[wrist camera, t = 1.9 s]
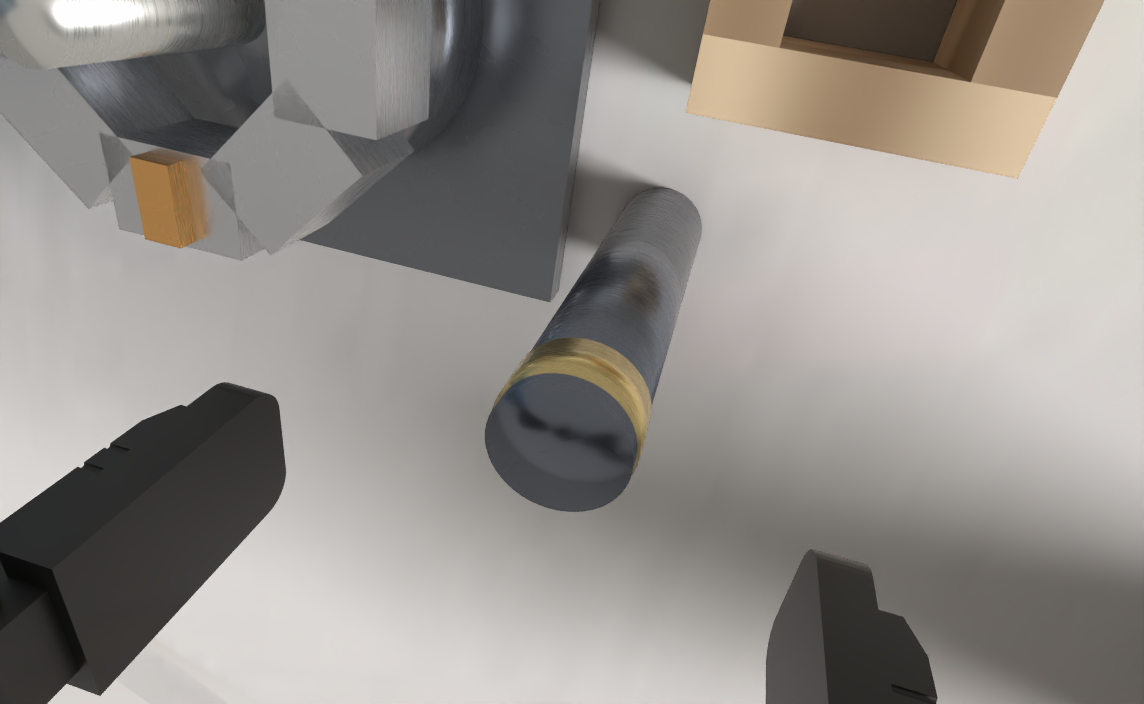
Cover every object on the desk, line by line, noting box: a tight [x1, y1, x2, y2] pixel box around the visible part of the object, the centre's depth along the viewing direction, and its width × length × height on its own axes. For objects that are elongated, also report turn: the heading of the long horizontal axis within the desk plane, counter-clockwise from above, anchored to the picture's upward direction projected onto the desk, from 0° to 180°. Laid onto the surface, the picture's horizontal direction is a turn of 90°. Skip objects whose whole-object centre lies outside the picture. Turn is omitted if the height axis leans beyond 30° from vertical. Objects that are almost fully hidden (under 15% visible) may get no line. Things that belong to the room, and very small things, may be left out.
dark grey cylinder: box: [485, 188, 702, 512], centre depth 16 cm, size 3×3×12 cm
